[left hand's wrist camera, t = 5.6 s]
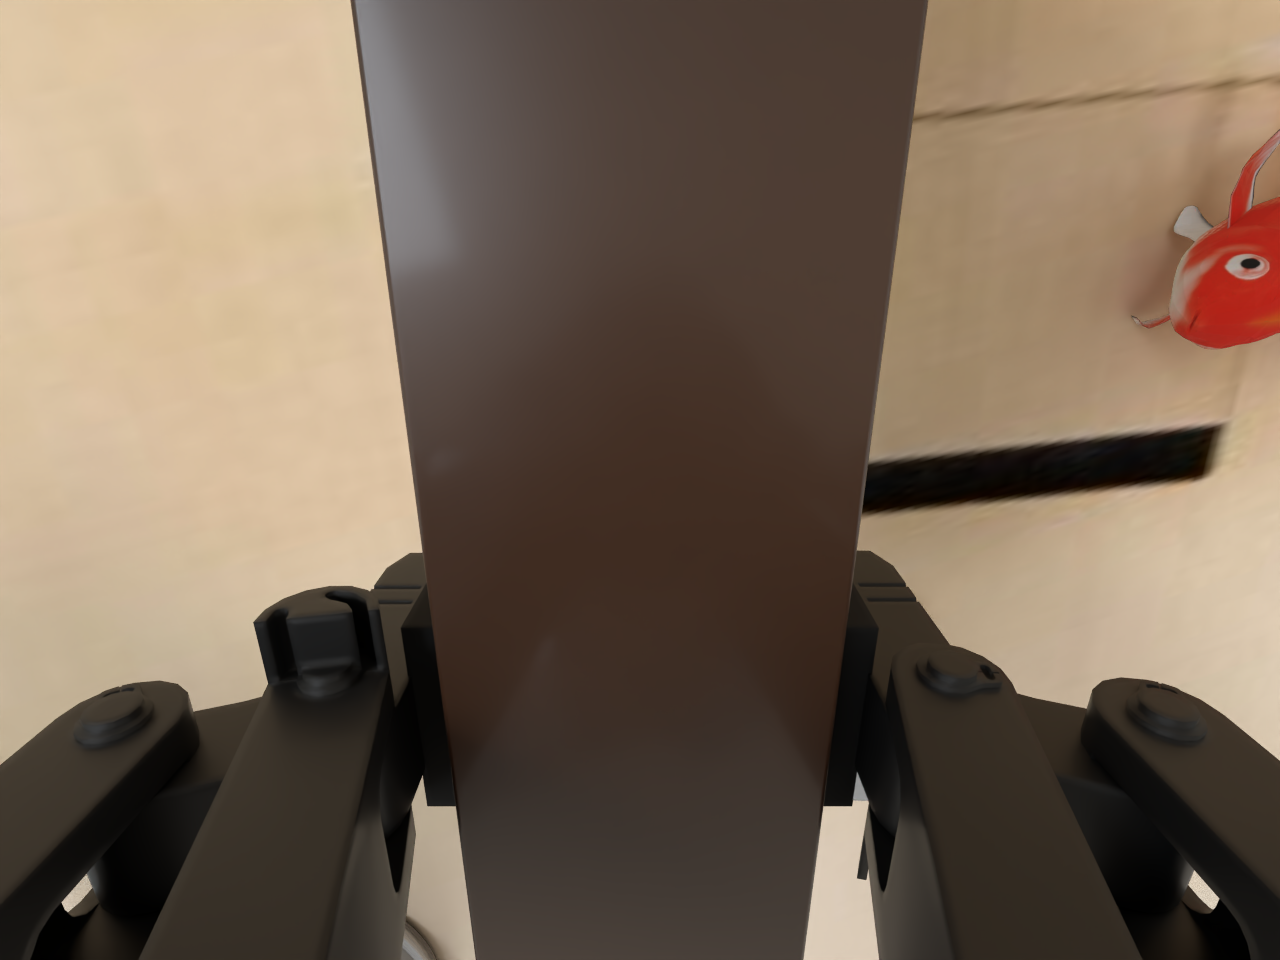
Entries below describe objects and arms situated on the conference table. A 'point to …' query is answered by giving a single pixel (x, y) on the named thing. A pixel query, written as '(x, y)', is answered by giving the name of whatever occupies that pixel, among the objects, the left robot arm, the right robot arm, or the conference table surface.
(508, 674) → the bar
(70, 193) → the conference table surface
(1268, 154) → the fish
